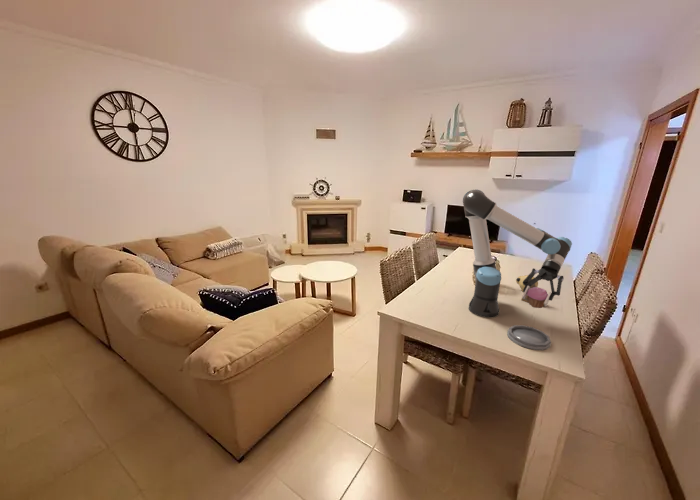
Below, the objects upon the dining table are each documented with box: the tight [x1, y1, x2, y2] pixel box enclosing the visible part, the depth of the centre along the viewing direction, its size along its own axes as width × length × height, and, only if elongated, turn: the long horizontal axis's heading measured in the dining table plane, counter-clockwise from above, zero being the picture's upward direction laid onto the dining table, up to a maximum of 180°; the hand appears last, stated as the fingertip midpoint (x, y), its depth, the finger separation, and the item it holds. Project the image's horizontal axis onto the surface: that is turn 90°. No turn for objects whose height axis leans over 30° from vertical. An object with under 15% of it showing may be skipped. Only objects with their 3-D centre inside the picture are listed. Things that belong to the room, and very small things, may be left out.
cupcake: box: [527, 287, 549, 309], centre depth 145 cm, size 9×9×10 cm
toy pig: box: [515, 274, 539, 292], centre depth 184 cm, size 10×12×11 cm
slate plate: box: [506, 324, 552, 351], centre depth 133 cm, size 17×17×2 cm
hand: (534, 301), depth 143 cm, fingers closed on cupcake, 9 cm apart
